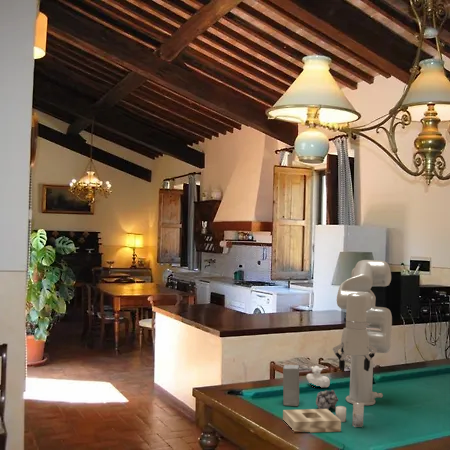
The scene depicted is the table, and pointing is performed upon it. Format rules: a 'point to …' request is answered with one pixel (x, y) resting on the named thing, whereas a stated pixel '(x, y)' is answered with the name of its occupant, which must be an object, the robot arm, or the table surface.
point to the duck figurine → (318, 377)
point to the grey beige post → (358, 413)
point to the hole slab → (312, 420)
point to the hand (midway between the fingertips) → (354, 370)
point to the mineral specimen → (326, 399)
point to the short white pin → (341, 413)
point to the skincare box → (291, 385)
